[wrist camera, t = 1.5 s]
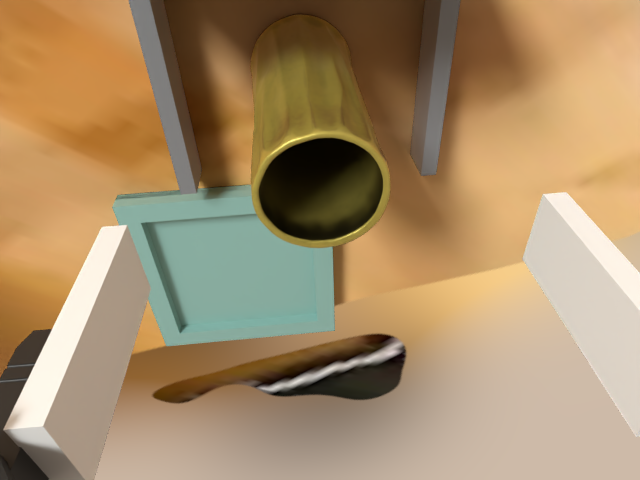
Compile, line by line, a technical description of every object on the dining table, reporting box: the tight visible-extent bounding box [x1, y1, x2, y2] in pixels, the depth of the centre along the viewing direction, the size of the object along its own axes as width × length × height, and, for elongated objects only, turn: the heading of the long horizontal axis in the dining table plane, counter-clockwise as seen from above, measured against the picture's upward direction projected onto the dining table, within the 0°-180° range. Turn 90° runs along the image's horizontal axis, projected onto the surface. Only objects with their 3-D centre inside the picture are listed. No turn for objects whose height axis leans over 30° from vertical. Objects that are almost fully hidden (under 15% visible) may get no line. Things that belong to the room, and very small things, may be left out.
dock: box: [129, 0, 460, 195], centre depth 24 cm, size 17×14×10 cm
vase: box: [251, 14, 391, 248], centre depth 23 cm, size 6×6×14 cm
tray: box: [112, 185, 335, 346], centre depth 37 cm, size 15×15×2 cm
